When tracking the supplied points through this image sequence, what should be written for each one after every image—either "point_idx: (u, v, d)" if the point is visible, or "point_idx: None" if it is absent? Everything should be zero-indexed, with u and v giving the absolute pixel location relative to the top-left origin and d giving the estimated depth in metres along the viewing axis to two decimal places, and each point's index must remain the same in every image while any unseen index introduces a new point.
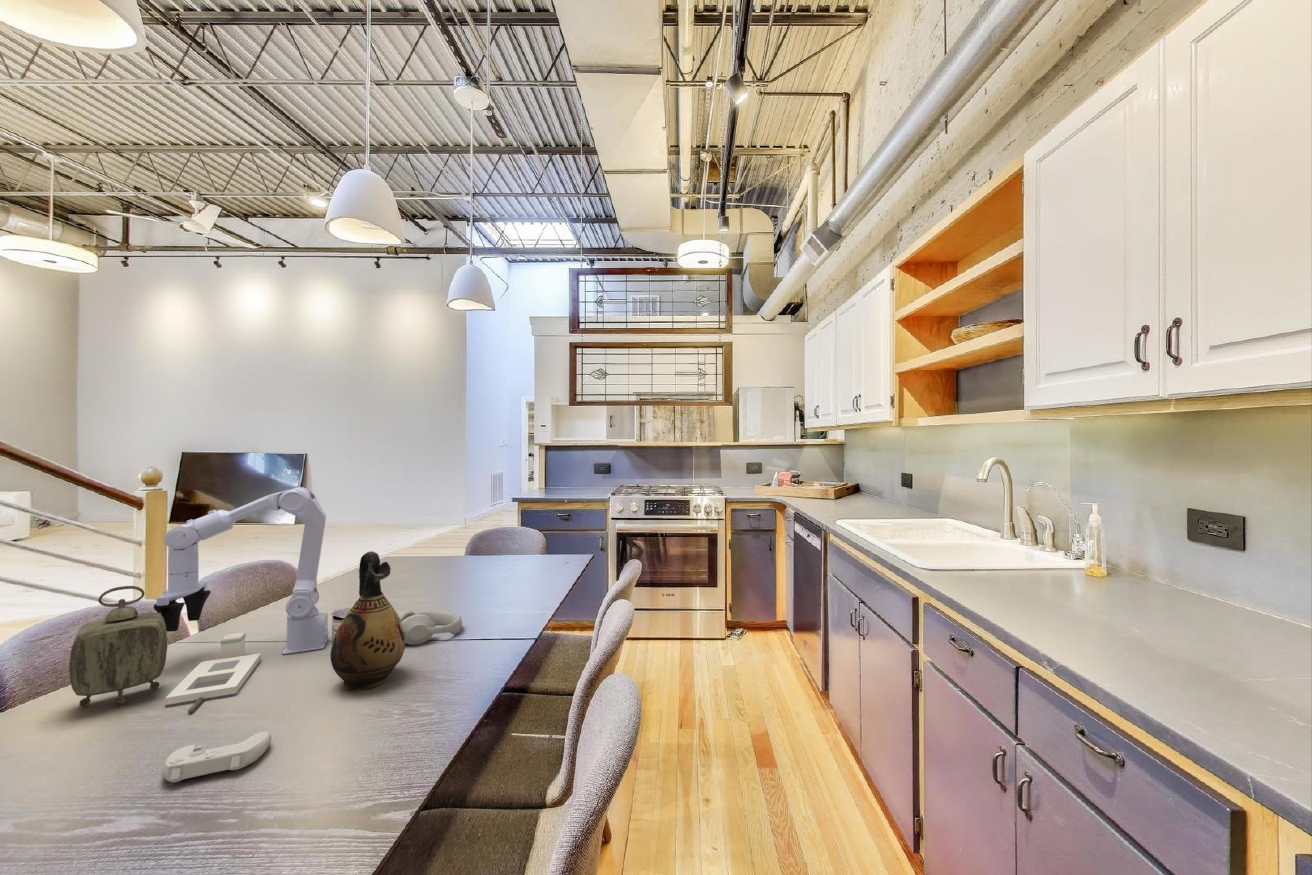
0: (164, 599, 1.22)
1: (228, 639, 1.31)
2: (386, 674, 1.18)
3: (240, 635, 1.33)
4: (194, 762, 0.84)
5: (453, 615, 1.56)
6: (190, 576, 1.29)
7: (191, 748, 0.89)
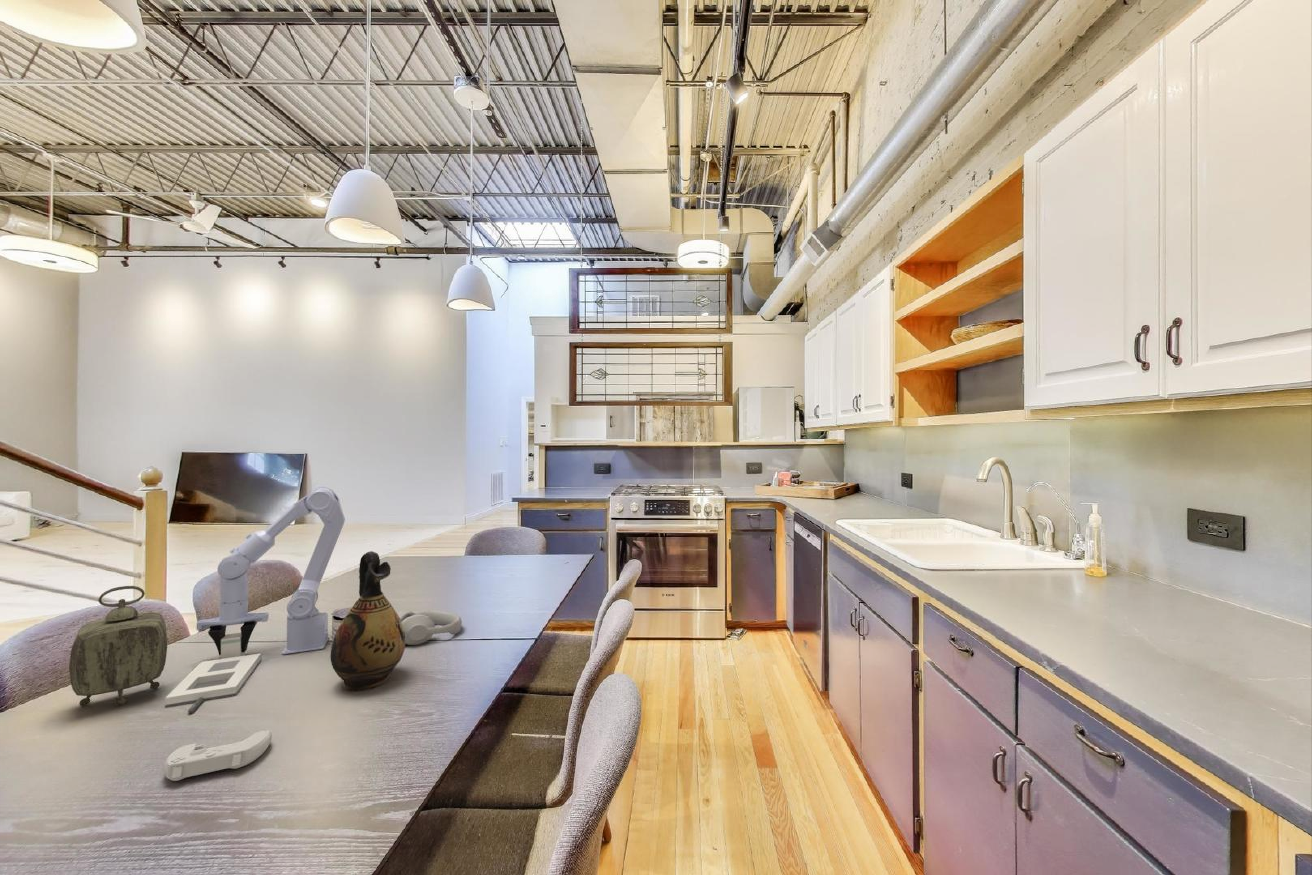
0: None
1: (228, 639, 1.31)
2: (386, 674, 1.18)
3: (240, 635, 1.33)
4: (195, 760, 0.85)
5: (452, 615, 1.56)
6: (225, 607, 1.31)
7: (192, 747, 0.89)
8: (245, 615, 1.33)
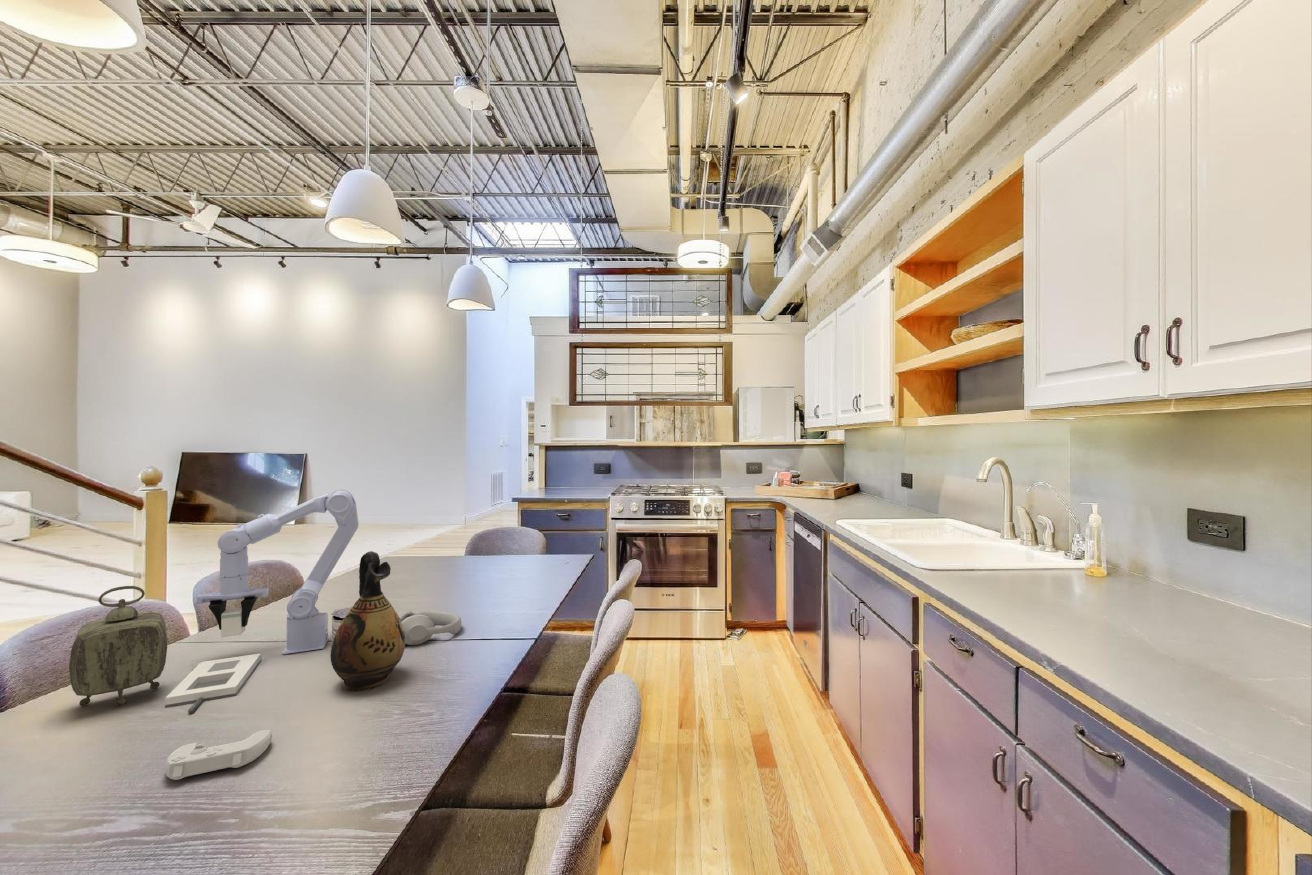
0: None
1: (228, 613, 1.31)
2: (386, 674, 1.18)
3: (240, 610, 1.33)
4: (196, 760, 0.85)
5: (452, 615, 1.56)
6: (225, 581, 1.31)
7: (193, 746, 0.90)
8: (245, 590, 1.34)
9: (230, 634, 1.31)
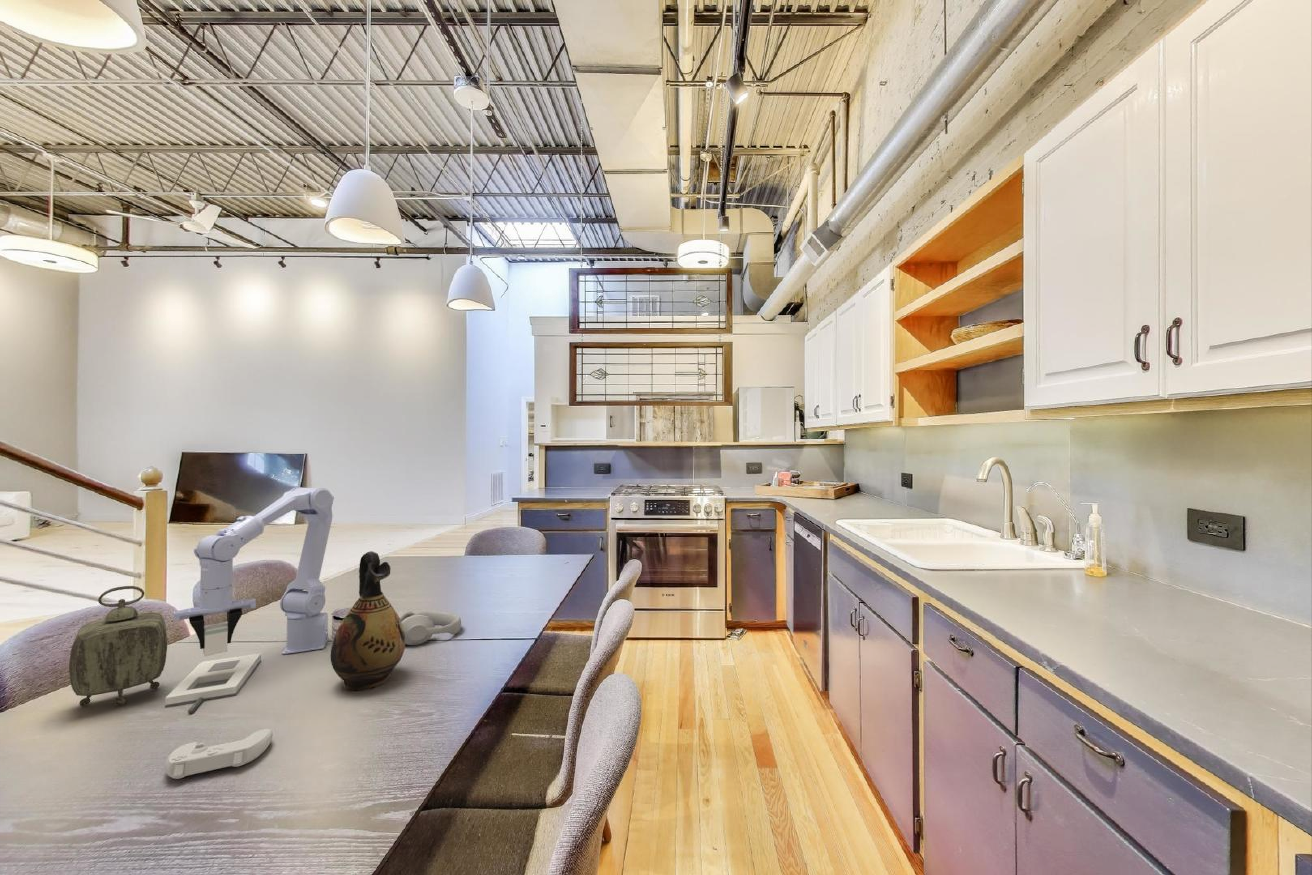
0: None
1: (213, 629, 1.18)
2: (386, 674, 1.18)
3: (224, 624, 1.20)
4: (197, 759, 0.85)
5: (452, 616, 1.56)
6: (210, 594, 1.17)
7: (193, 745, 0.90)
8: (231, 602, 1.21)
9: (215, 652, 1.18)
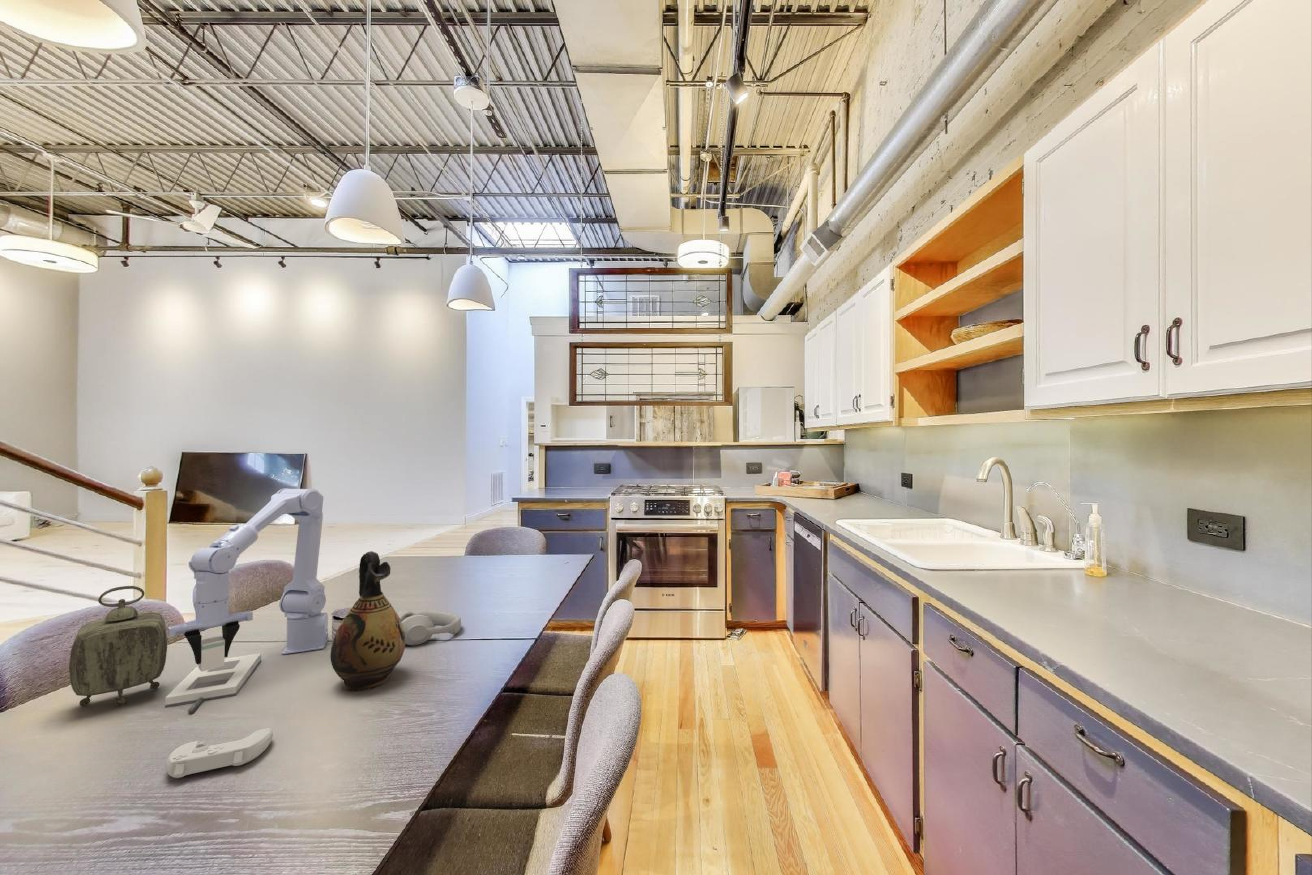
0: (169, 630, 1.10)
1: (210, 643, 1.15)
2: (386, 674, 1.18)
3: (220, 638, 1.17)
4: (197, 758, 0.85)
5: (452, 616, 1.56)
6: (207, 607, 1.14)
7: (194, 744, 0.90)
8: (228, 615, 1.18)
9: (212, 667, 1.15)
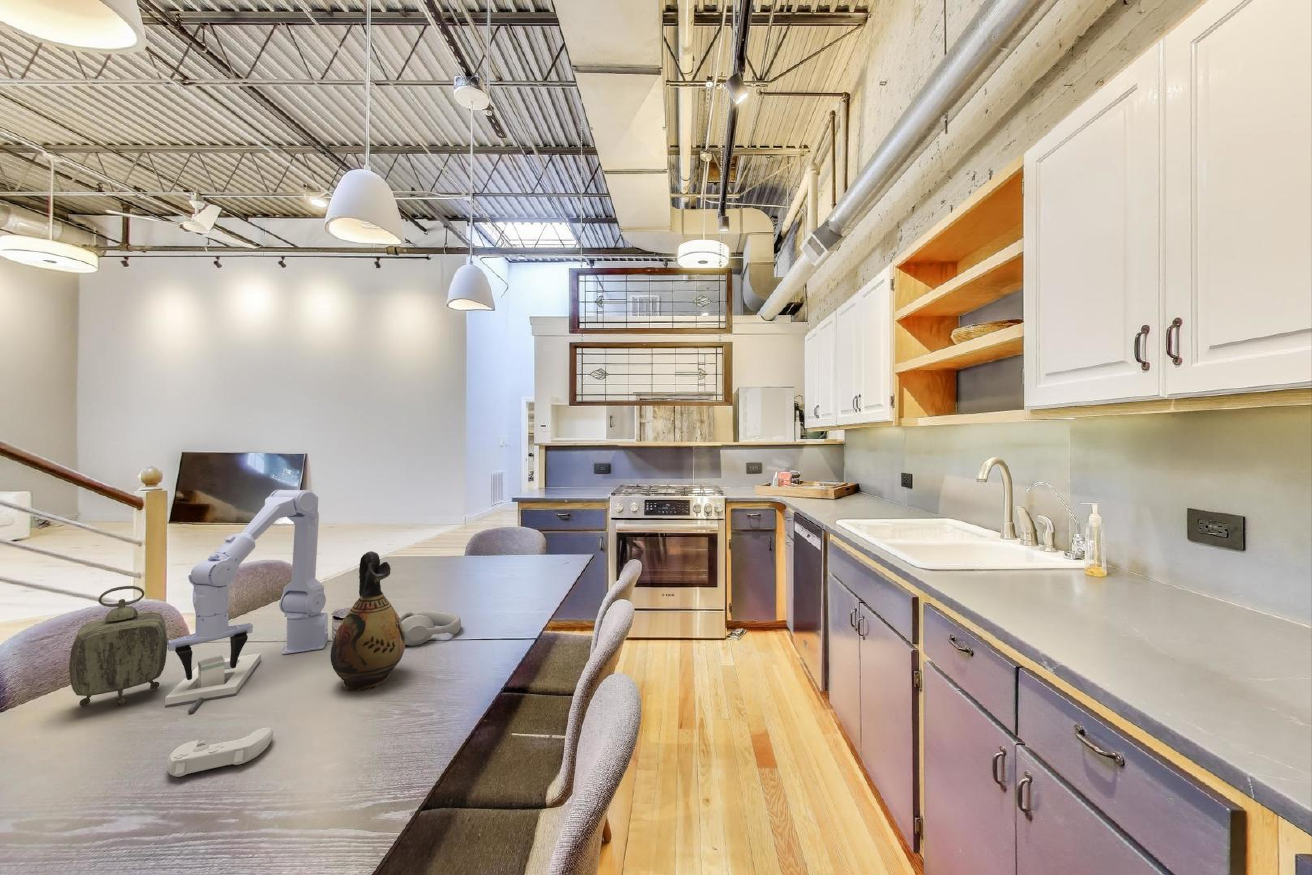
0: (168, 644, 1.10)
1: (210, 664, 1.15)
2: (386, 674, 1.18)
3: (220, 658, 1.17)
4: (198, 757, 0.86)
5: (452, 616, 1.56)
6: (207, 621, 1.14)
7: (194, 743, 0.90)
8: (228, 628, 1.18)
9: None
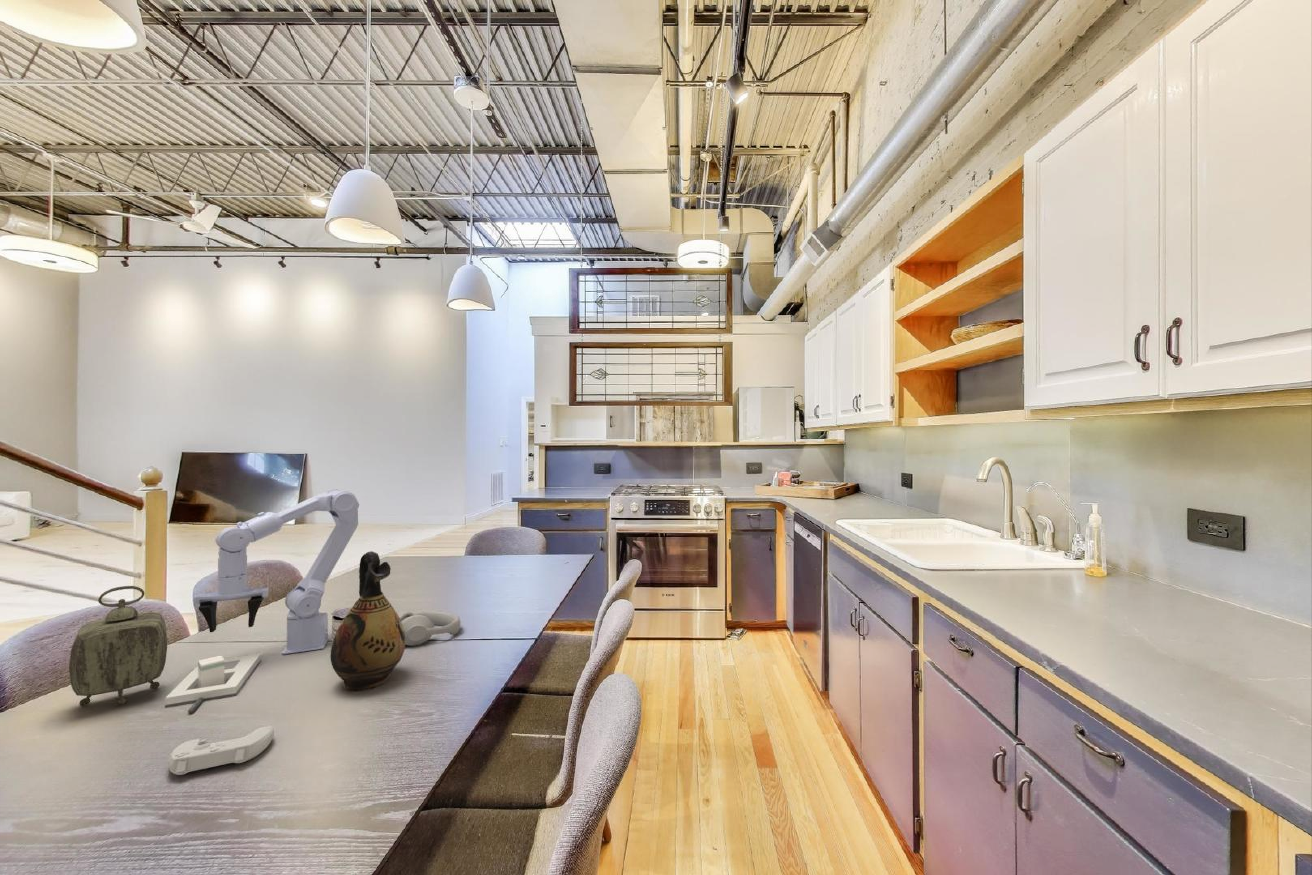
0: None
1: (210, 664, 1.15)
2: (386, 674, 1.18)
3: (220, 658, 1.17)
4: (199, 755, 0.86)
5: (451, 616, 1.56)
6: (223, 581, 1.26)
7: (196, 742, 0.91)
8: (244, 590, 1.29)
9: None
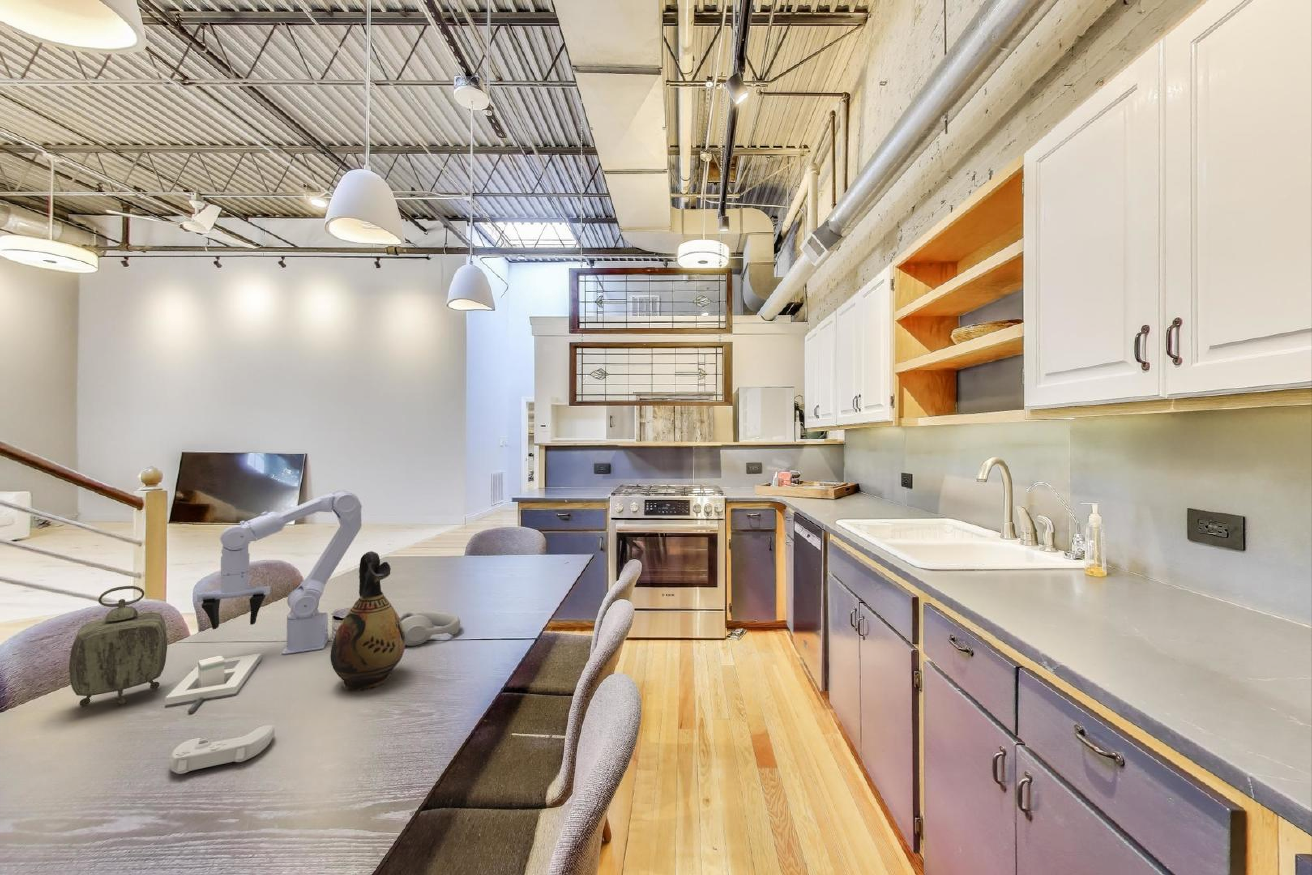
0: None
1: (210, 664, 1.15)
2: (386, 674, 1.18)
3: (220, 658, 1.17)
4: (200, 754, 0.86)
5: (451, 616, 1.55)
6: (226, 579, 1.28)
7: (196, 741, 0.91)
8: (247, 588, 1.31)
9: None
